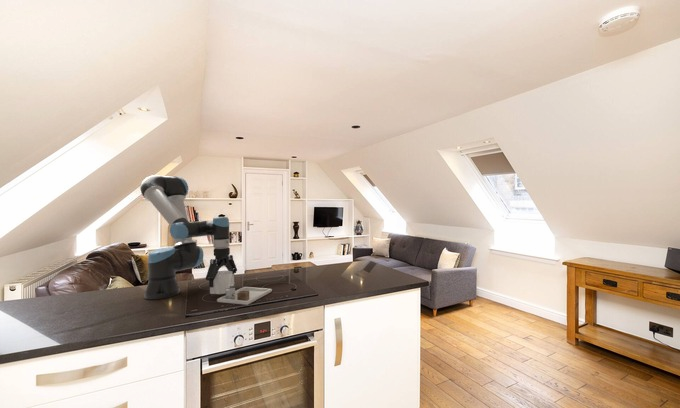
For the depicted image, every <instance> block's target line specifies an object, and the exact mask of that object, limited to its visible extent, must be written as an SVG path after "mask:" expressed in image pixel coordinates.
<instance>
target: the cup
mask: <svg viewBox="0 0 680 408" xmlns="http://www.w3.org/2000/svg"><path fill="white" fill-rule="evenodd" d="M231 276H232V271H228V270H219V271H218V273H217V275H216V277H215V279H214V280H216V294H215V295H226V289H227V288H231V286H230V282H231Z"/></svg>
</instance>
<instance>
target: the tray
mask: <svg viewBox="0 0 680 408" xmlns="http://www.w3.org/2000/svg"><path fill="white" fill-rule="evenodd" d="M272 290H273V289H272V288H265V287H252V286H243V287H241V288H239V289H235V300H232V299H226V294H224V295H223V296H221V297H218V298H217V299H216V302H218V303H224V304H236V305H246V306H248V305H250V304H252V303H253V302H255V301H257V300H259V299H261V298H262V297H264V296H266V295H268V294H270V293H271V292H272ZM240 291H249V300H248V301H243V300H237V293H239V292H240Z"/></svg>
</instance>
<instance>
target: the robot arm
mask: <svg viewBox="0 0 680 408" xmlns="http://www.w3.org/2000/svg"><path fill="white" fill-rule="evenodd" d="M188 185H189V184H188V182H187V181H186V180H185V179H184V178H182V177H178V176H171V175H170V176H169V175H159V174H153V175H150V176H146V178H144V179H143V180H142V182H141V184H140V187H139V188H140V193H141V195H142V196H143V198H144V199H145V200H146V201H149V202H150V203H151V204H152V205H153V207H154V208H155V209H156V210H157V211H158V213H159V214H160V215H161V216H162V218H163V219H164V220H165V221H166V223H167V224H168V225H169V226H170V227H169V234H170V237H171V238H173V241H174V244H173V246H171V247H167V246H166V247H162V248H157V249H154V250H152V251H150V252H149V253H148V256H147V263H148V265H147V267H148V268H147V269H148V272H147V273H148V283H147V286H146V289H145V291H144V299H146V300H161V299H167V298H171V297H174V296H177V295H179V293H180V290H181V289H180V287H179V285H178V281H177V278H176V272H181V271H184V270H189V269H194V268H196V267H199V266H200V265H202V264H201V263H202V262H203V260H204V250H203V247H202V248H201V246H199V245H197V241H195V240H193V238H197V237H198V238H199V237H207V236H213V239H212V241H213V256H214V257H215V258H214V259H213V258H210V260H209V266H208V268H207V273H206V275H205V280H206V281H209V282H208V286H209V294H211V295H213V294H214V295H217V294H216V280H214V279H215V277H216V275H217V273H218V271H220V269H221V268H222V267H224V266H225V268H226V269H227V271H232V276H231V282H230V287H235V274H237V271H238V269H237V265H236V263H235V260H234V256H233V254H231V251H230V250H231V248H230V246H231V245H230V221H229V217H227V216H219V217H218V216H217V217H216V216H215V217H213V219H212V221H210V220H202V221H201V220H200V221H189V218H188V216H187V215H188V214H187V209H186V205H185V202H184V201H185V199H186V196H187V195H188V194H189V186H188Z"/></svg>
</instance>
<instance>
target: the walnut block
mask: <svg viewBox="0 0 680 408" xmlns="http://www.w3.org/2000/svg"><path fill="white" fill-rule="evenodd" d="M237 300H243V301H248V300H249V291H240V292H239V293H237Z"/></svg>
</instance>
